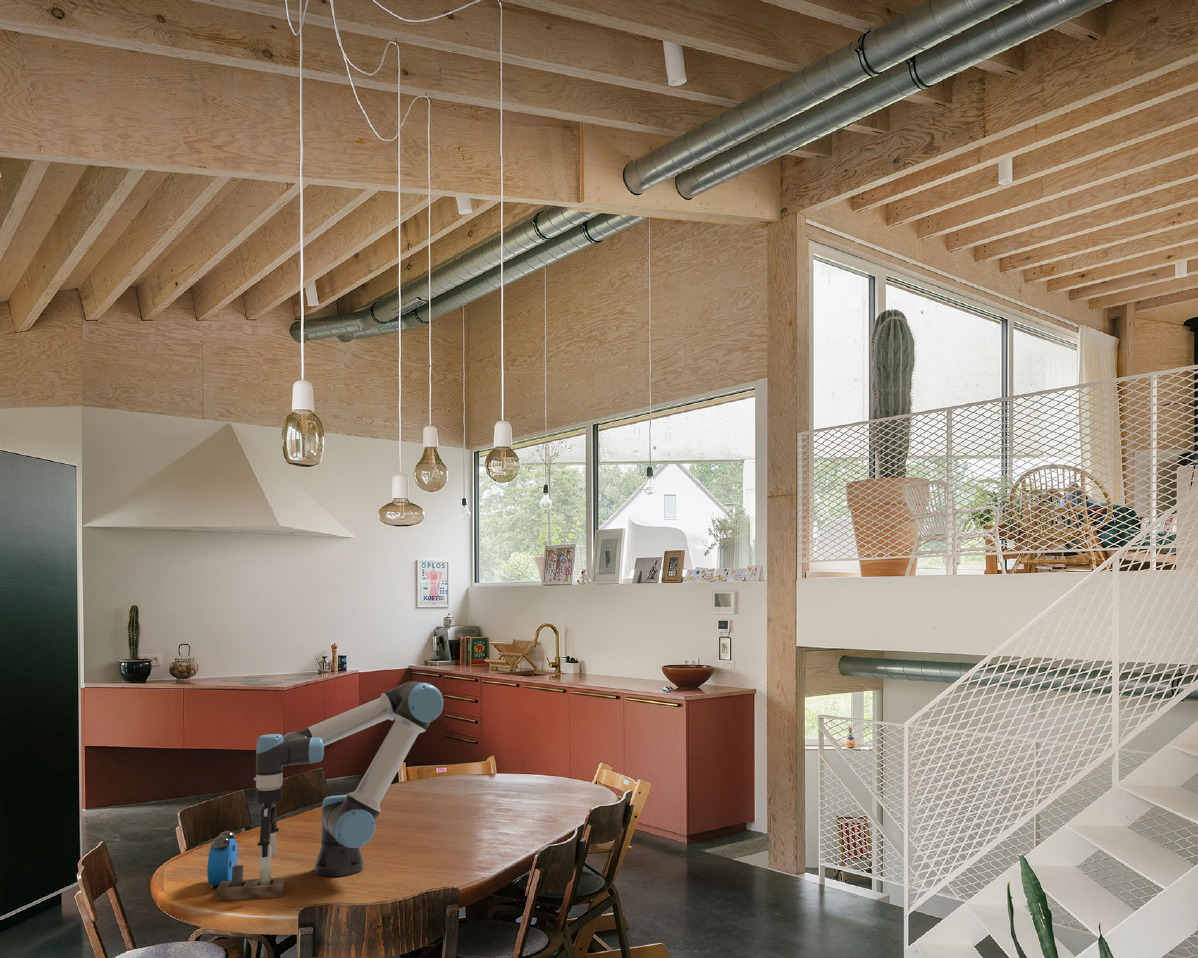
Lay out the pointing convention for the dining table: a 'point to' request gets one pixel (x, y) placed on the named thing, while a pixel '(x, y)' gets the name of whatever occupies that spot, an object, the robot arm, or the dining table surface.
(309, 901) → the dining table surface
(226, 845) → the alarm clock
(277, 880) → the walnut holder
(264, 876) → the sage candle
